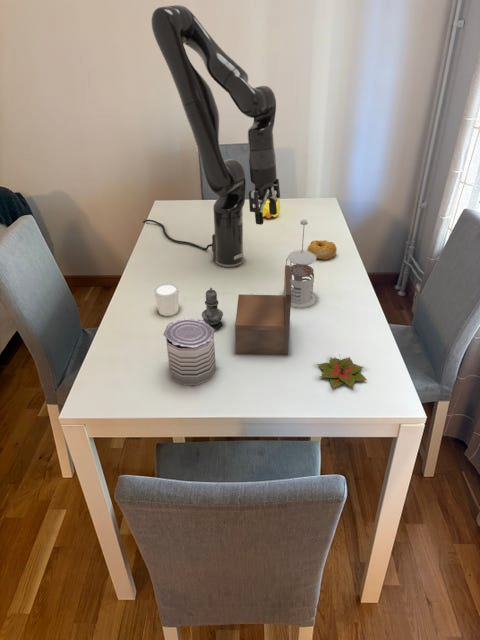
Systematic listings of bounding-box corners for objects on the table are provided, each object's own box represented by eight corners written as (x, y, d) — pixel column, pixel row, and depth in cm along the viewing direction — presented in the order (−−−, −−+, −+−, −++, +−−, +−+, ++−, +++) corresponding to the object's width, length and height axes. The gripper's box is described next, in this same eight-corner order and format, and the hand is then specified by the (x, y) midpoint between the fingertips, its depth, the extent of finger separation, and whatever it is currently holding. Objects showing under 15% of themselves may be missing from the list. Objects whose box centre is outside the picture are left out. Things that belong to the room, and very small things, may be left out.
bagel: (334, 247, 171) (336, 234, 168) (337, 262, 162) (338, 249, 159) (306, 246, 172) (307, 234, 169) (307, 261, 163) (308, 248, 160)
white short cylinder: (184, 306, 141) (182, 285, 137) (174, 319, 136) (172, 297, 132) (163, 302, 143) (160, 281, 139) (152, 314, 138) (149, 293, 134)
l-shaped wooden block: (235, 353, 123) (234, 293, 113) (239, 321, 135) (238, 264, 124) (288, 355, 122) (291, 294, 112) (286, 322, 134) (289, 265, 124)
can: (172, 355, 123) (168, 316, 116) (217, 355, 123) (215, 316, 116) (165, 385, 114) (160, 345, 107) (214, 386, 113) (211, 345, 106)
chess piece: (220, 332, 131) (219, 294, 124) (199, 329, 132) (196, 292, 125) (225, 319, 135) (224, 282, 129) (205, 317, 136) (202, 280, 130)
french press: (294, 311, 139) (298, 230, 124) (273, 292, 147) (275, 214, 133) (322, 302, 142) (330, 222, 128) (300, 284, 151) (305, 207, 136)
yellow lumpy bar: (258, 220, 191) (278, 220, 191) (258, 204, 187) (278, 204, 187) (261, 203, 206) (279, 203, 205) (261, 187, 202) (280, 188, 201)
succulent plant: (376, 385, 113) (379, 370, 110) (329, 396, 110) (331, 381, 108) (352, 354, 122) (354, 339, 120) (308, 363, 120) (309, 348, 117)
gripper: (263, 157, 145) (267, 210, 153) (238, 170, 135) (243, 226, 143) (285, 158, 141) (288, 212, 149) (261, 172, 131) (266, 228, 139)
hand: (266, 219), depth 146 cm, fingers open, 8 cm apart
